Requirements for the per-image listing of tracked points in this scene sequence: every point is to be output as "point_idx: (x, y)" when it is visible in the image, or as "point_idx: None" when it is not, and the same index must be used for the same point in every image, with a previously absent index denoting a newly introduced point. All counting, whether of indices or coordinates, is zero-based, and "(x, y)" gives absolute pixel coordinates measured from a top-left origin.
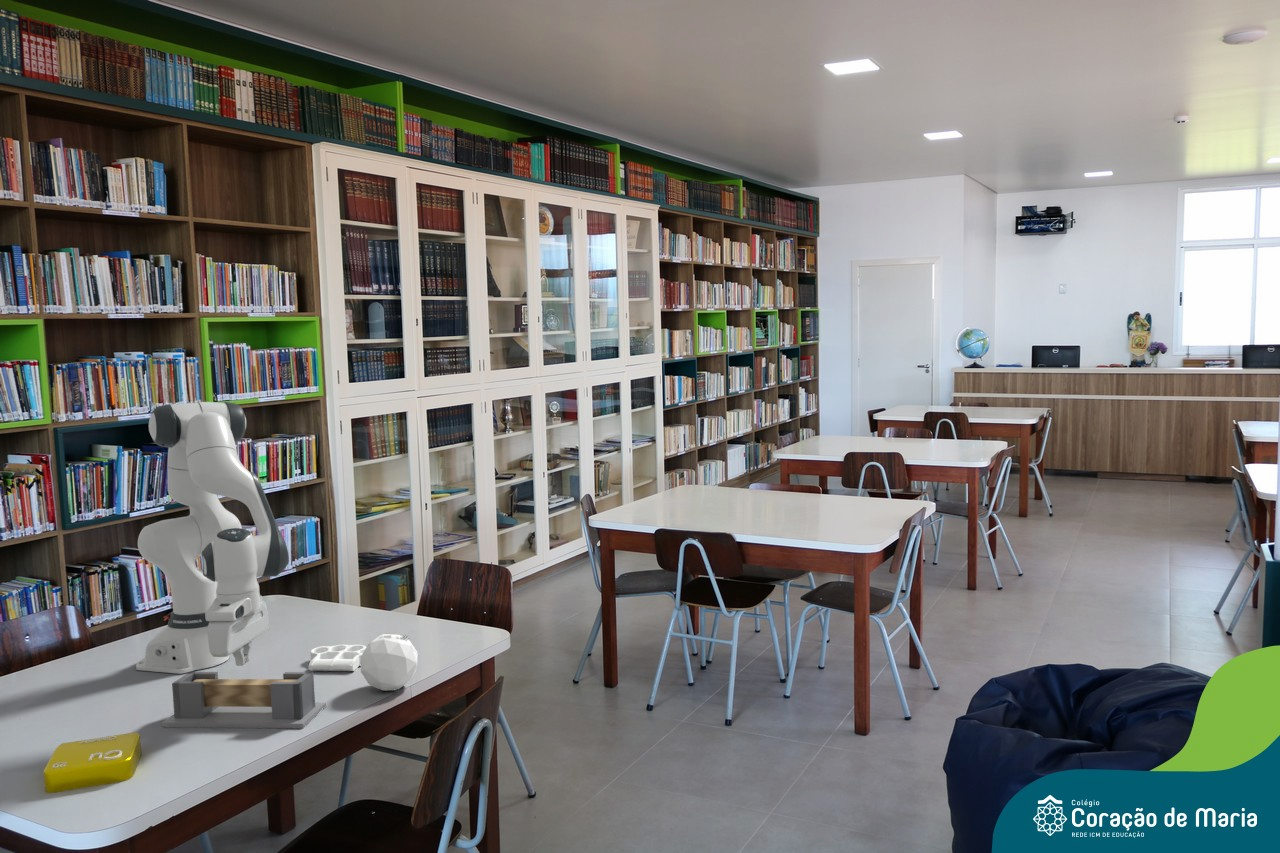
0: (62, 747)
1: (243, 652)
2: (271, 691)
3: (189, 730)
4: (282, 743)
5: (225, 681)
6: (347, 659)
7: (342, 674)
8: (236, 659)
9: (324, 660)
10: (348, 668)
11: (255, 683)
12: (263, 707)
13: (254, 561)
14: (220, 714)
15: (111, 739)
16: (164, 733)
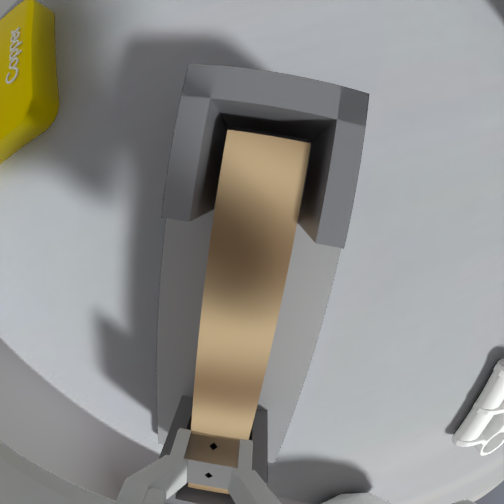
0: (11, 15)
1: (235, 485)
2: (163, 448)
3: (153, 183)
4: (95, 409)
5: (247, 307)
6: (478, 433)
7: (452, 423)
8: (171, 452)
9: (499, 396)
10: (456, 435)
11: (206, 419)
12: (270, 360)
13: None
14: None
15: (6, 80)
16: (143, 119)
